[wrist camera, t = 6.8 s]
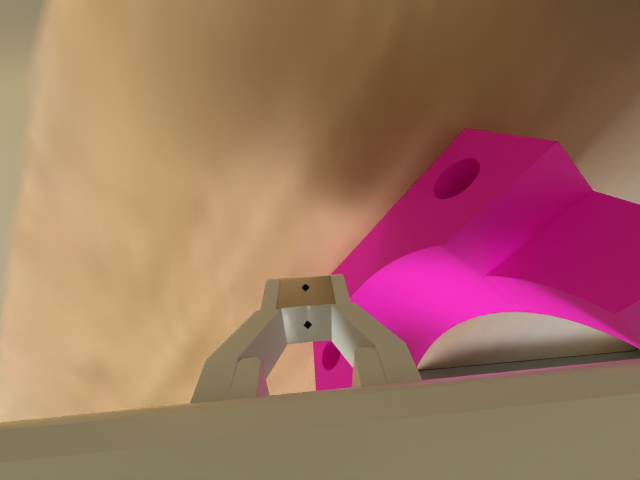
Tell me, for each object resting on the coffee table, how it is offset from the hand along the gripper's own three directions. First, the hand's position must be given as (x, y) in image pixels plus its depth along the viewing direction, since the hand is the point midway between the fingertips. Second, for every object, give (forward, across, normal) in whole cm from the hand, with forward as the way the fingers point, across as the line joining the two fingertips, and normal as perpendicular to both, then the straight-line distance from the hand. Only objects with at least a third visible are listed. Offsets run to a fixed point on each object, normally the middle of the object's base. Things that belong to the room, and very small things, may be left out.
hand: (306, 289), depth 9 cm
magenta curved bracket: (+4, -5, +2) cm, 7 cm away
